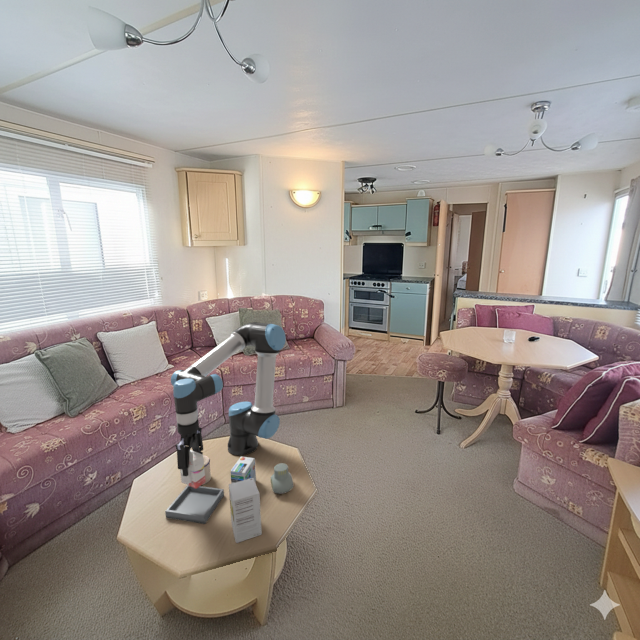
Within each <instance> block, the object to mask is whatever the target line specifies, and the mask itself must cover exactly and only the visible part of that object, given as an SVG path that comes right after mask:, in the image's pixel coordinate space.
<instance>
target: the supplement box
mask: <svg viewBox="0 0 640 640" xmlns="http://www.w3.org/2000/svg"><path fill="white" fill-rule="evenodd" d="M228 492H229V505H230V521H231V528H232V532H233V537H234V541H235V543H236V544H239V543H241V542H244V541H247V540H250V539H253V538H255V537H259V536H261V535H262V534H263V533H262V532H263V531H262V516H261V515H262V514H261V499H260V498H261V494H260V491H259V488H258V487H257V484H256V481H254V478H250V479H247V480H243V481H239V482H236V483H232V484H231V483H229V484H228Z"/></svg>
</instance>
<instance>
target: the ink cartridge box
mask: <svg viewBox="0 0 640 640" xmlns="http://www.w3.org/2000/svg"><path fill="white" fill-rule="evenodd" d="M203 455H204V453H203V454H200V453H198V452H195V451H193V450H192V449H190V452H189V466H190V469H191V479H192V482H191V483H186V482H184V476H183V471H182V470H181V469H179V471H180V481H181V482H180V483H182V484H185V485H186V486H187V485H189V486H191V487H193V488H195V489H197V488H198V487H199V486H203V485H202V484H203V483H205V482H206V481H205V470H204V460H203Z"/></svg>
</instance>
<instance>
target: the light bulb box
mask: <svg viewBox="0 0 640 640" xmlns="http://www.w3.org/2000/svg"><path fill="white" fill-rule="evenodd" d="M229 473H230V484H232V483H236V482H239V481H243V480H247V479H250V478H254V481H255V482H256V481H257V475H256V474H257V471H256V459H255V457H249V456H248V457H247V456H240V457H239V459H237V461H236V463H235V464H234V465H233V467H232V468H231V470H230V472H229Z"/></svg>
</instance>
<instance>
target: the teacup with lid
mask: <svg viewBox="0 0 640 640" xmlns="http://www.w3.org/2000/svg"><path fill="white" fill-rule="evenodd" d="M203 460H204V470H205V481H206V482H205V483H203V484H202V485H201V486H204V485H206V484H207V483H209V482H210V480H211V478H212V474H211V464H210V462H211V459H210V457H209V456H207V455H204V454H203Z"/></svg>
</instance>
